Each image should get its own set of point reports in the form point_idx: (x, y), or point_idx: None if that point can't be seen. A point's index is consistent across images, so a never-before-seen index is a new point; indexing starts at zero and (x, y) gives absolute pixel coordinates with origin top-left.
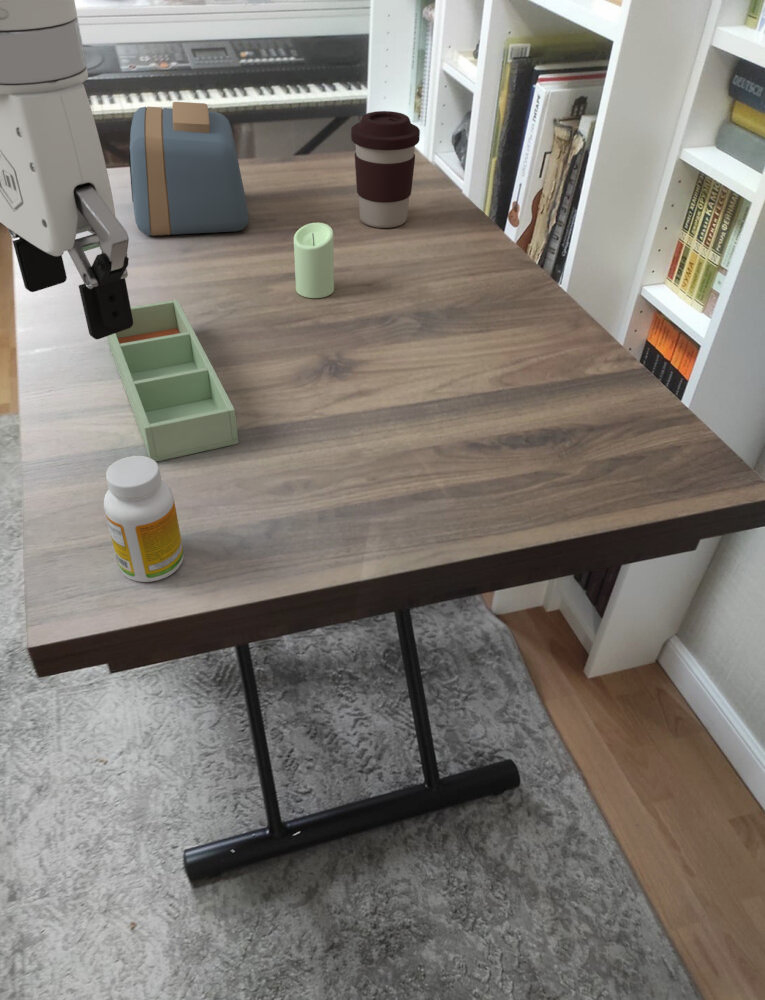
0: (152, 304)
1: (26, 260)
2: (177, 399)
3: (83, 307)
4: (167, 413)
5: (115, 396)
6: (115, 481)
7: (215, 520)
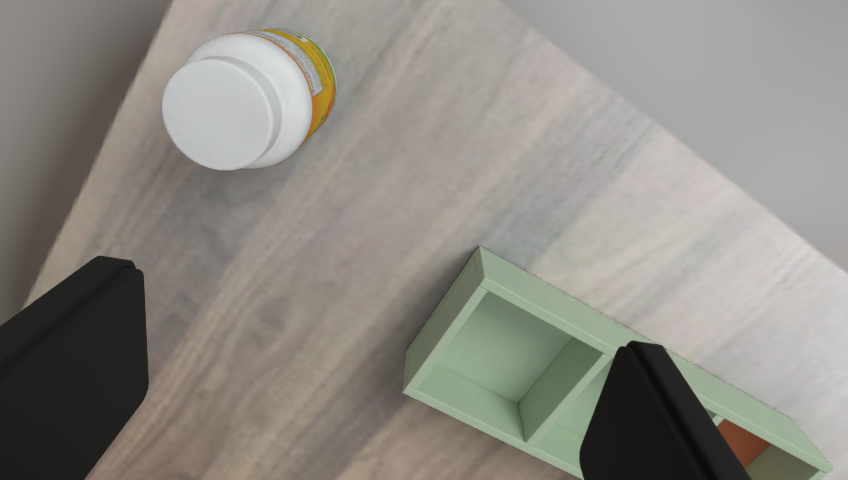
0: None
1: (667, 449)
2: (550, 372)
3: (43, 323)
4: (547, 342)
5: (668, 329)
6: (208, 69)
7: (292, 209)
